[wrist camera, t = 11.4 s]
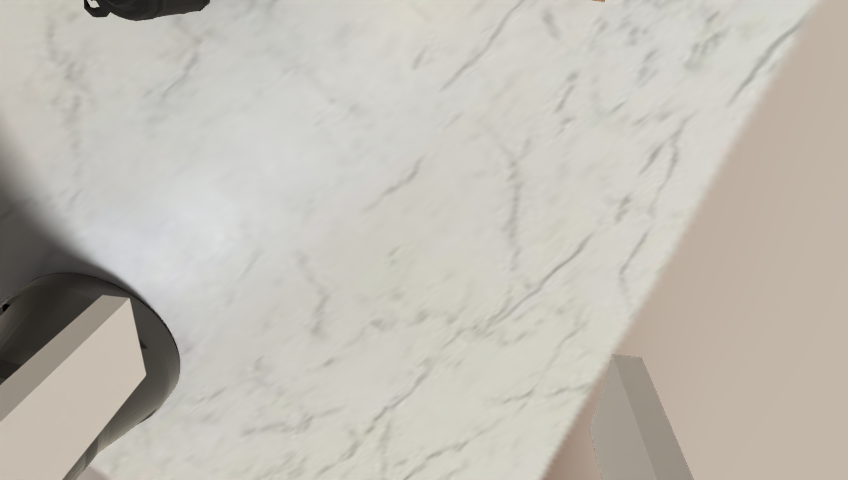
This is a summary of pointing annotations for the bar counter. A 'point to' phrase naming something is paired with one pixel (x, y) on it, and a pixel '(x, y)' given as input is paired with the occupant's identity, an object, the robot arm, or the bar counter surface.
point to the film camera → (144, 8)
